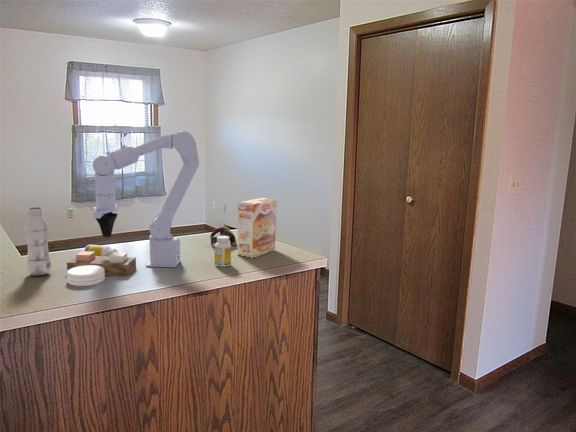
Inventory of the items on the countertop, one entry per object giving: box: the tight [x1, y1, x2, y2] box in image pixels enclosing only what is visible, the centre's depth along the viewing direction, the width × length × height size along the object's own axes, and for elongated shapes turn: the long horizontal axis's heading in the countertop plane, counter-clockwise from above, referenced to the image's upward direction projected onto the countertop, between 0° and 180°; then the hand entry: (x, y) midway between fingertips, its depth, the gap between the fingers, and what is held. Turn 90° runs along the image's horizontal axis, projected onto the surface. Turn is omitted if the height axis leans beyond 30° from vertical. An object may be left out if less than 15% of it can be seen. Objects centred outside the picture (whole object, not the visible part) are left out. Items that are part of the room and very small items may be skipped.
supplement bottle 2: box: [213, 235, 232, 267], centre depth 152 cm, size 5×5×10 cm
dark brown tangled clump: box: [209, 226, 238, 247], centre depth 179 cm, size 12×10×8 cm
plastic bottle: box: [23, 206, 52, 276], centre depth 135 cm, size 6×7×20 cm
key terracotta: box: [75, 250, 95, 262], centre depth 142 cm, size 4×4×3 cm
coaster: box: [66, 265, 106, 287], centre depth 133 cm, size 10×10×4 cm
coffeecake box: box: [237, 197, 278, 259], centre depth 167 cm, size 15×7×20 cm, turn 148°
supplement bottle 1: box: [83, 244, 119, 257], centre depth 151 cm, size 5×5×10 cm
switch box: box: [66, 256, 137, 277], centre depth 142 cm, size 18×8×4 cm, turn 90°
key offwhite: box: [109, 251, 128, 263], centre depth 142 cm, size 4×4×3 cm
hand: (107, 236), depth 147 cm, fingers closed
